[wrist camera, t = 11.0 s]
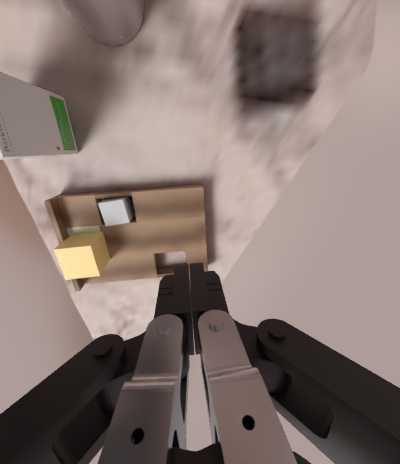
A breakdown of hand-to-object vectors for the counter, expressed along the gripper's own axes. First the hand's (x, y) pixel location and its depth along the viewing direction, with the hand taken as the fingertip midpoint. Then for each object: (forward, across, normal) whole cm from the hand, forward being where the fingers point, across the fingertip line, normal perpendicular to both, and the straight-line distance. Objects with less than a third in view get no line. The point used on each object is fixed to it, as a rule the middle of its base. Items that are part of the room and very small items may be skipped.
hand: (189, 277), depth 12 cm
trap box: (+29, +9, +9) cm, 32 cm away
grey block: (+29, +12, +4) cm, 32 cm away
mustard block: (+26, +18, +10) cm, 33 cm away
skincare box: (+29, +20, -10) cm, 37 cm away
